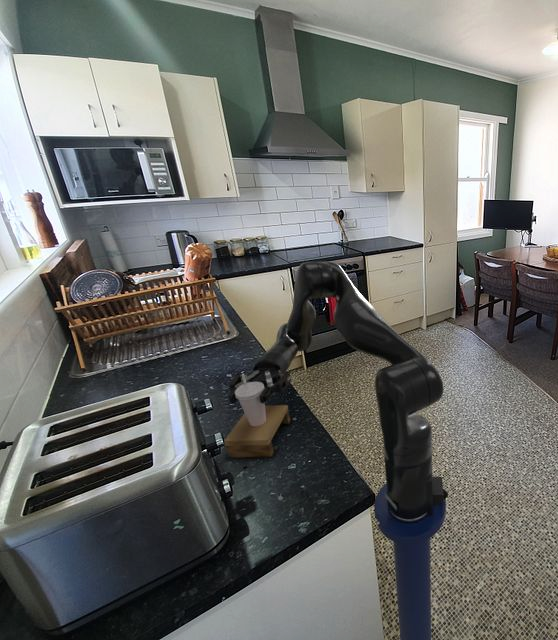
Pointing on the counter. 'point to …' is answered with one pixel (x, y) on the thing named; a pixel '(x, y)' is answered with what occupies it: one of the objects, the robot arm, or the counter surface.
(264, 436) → the bench
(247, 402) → the smoothie
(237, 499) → the counter surface
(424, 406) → the robot arm
